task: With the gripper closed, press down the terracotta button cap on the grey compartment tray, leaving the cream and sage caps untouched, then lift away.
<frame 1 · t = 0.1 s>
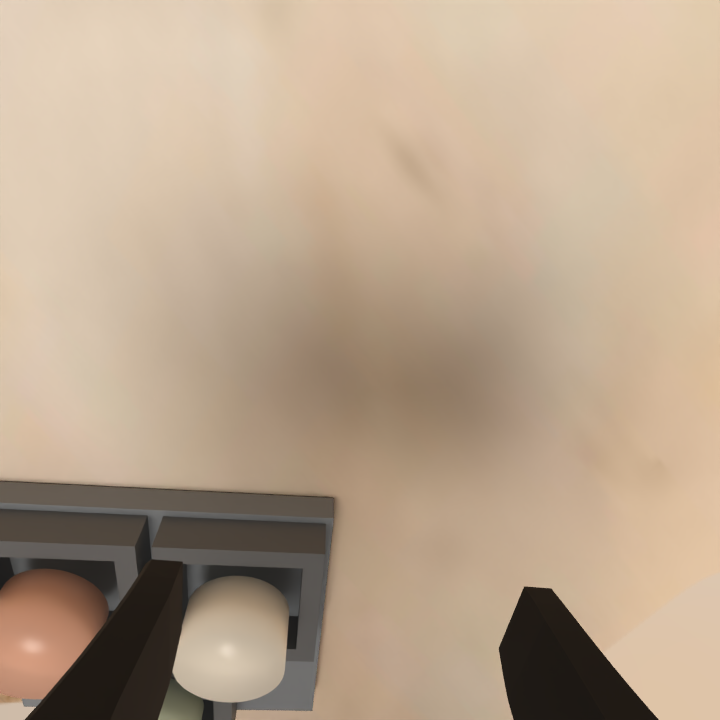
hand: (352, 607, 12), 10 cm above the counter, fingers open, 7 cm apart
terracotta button: (40, 633, 20), point 4 cm above the counter, slide at 0.0 cm
grey compartment tray: (171, 598, 26), on the counter
cream button: (234, 638, 21), point 4 cm above the counter, slide at 0.0 cm
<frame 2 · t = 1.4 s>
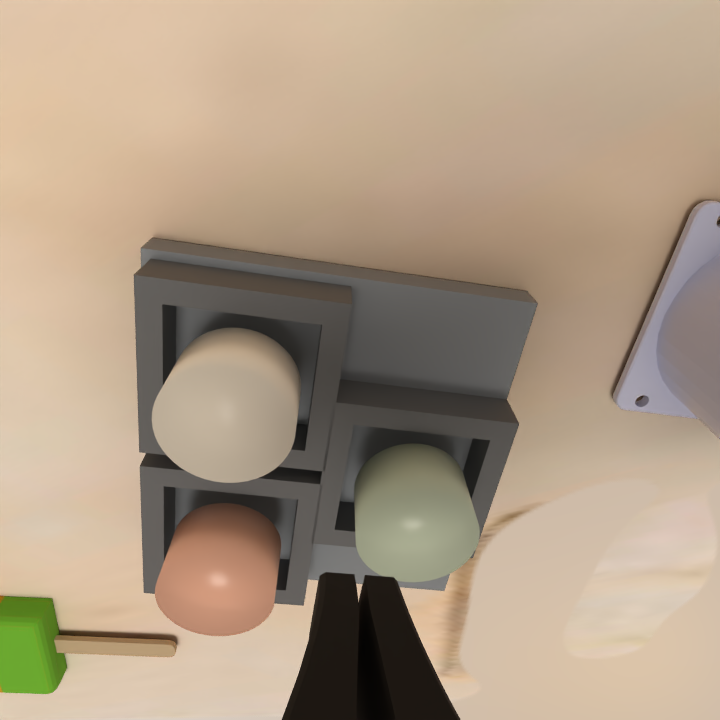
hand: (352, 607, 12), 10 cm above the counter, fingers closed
striped ice pop: (29, 623, 28), on the counter
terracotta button: (222, 569, 20), point 4 cm above the counter, slide at 0.0 cm
sage button: (413, 512, 19), point 4 cm above the counter, slide at 0.0 cm
grey compartment tray: (320, 432, 22), on the counter
cream button: (231, 404, 17), point 4 cm above the counter, slide at 0.0 cm
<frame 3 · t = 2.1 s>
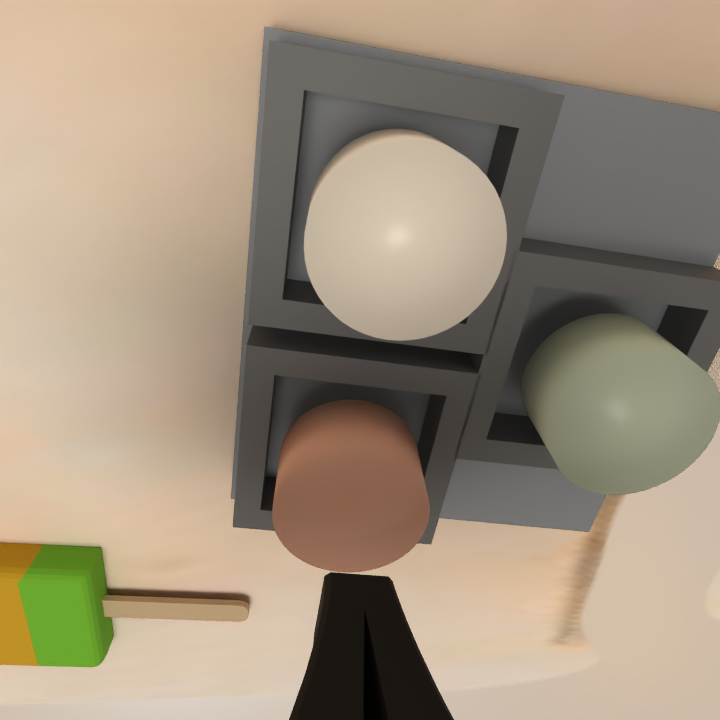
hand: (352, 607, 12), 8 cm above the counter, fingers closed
striped ice pop: (69, 582, 23), on the counter
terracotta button: (350, 485, 15), point 4 cm above the counter, slide at 0.0 cm
sage button: (612, 403, 14), point 4 cm above the counter, slide at 0.0 cm
grey compartment tray: (456, 322, 17), on the counter
cream button: (399, 233, 12), point 4 cm above the counter, slide at 0.0 cm
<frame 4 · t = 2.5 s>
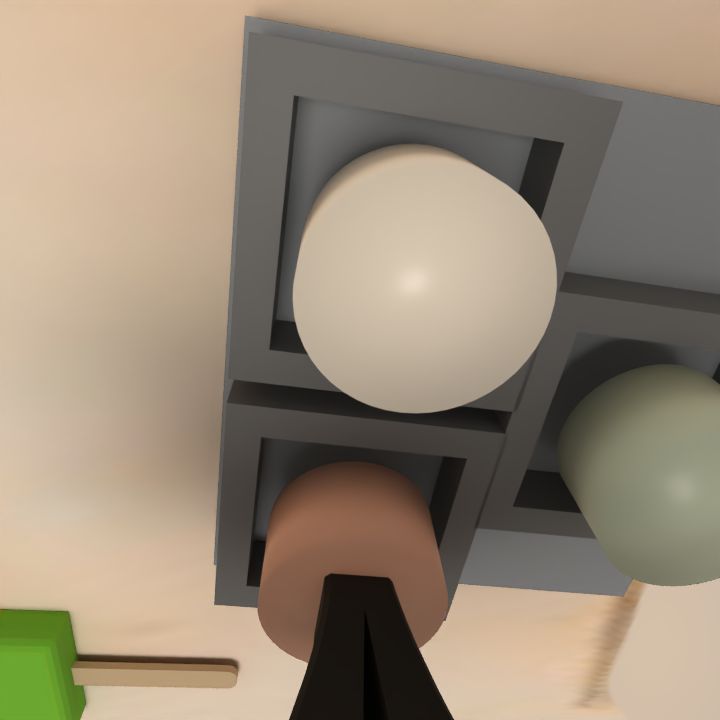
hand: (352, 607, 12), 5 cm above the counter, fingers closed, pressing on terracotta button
striped ice pop: (36, 644, 20), on the counter
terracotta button: (351, 563, 13), point 4 cm above the counter, slide at 0.1 cm, touching gripper
sage button: (670, 473, 12), point 4 cm above the counter, slide at 0.0 cm
grey compartment tray: (475, 364, 15), on the counter
cream button: (414, 276, 9), point 4 cm above the counter, slide at 0.0 cm
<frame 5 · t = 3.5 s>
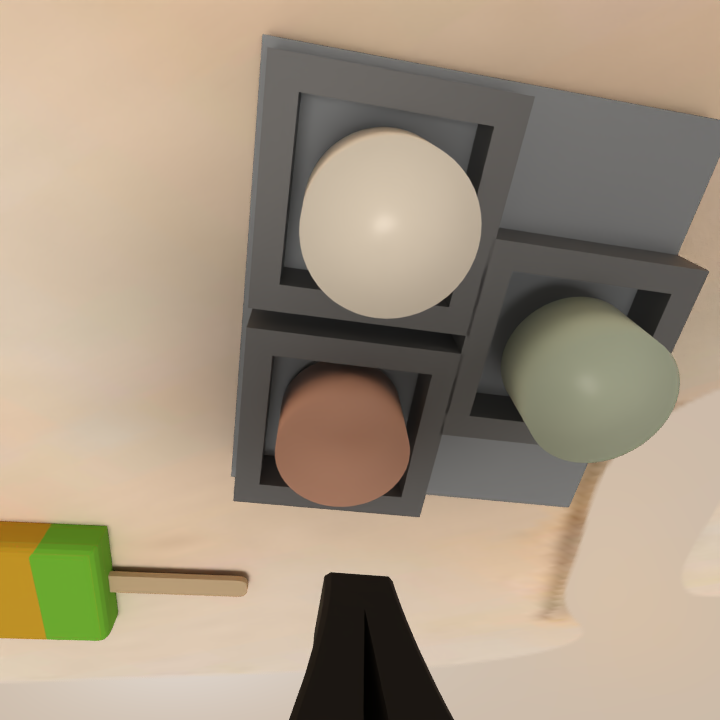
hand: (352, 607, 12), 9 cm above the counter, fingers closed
striped ice pop: (76, 560, 24), on the counter
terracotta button: (341, 431, 17), point 3 cm above the counter, slide at 1.3 cm
sage button: (583, 378, 15), point 4 cm above the counter, slide at 0.0 cm
grey compartment tray: (442, 308, 19), on the counter
cream button: (385, 221, 13), point 4 cm above the counter, slide at 0.0 cm
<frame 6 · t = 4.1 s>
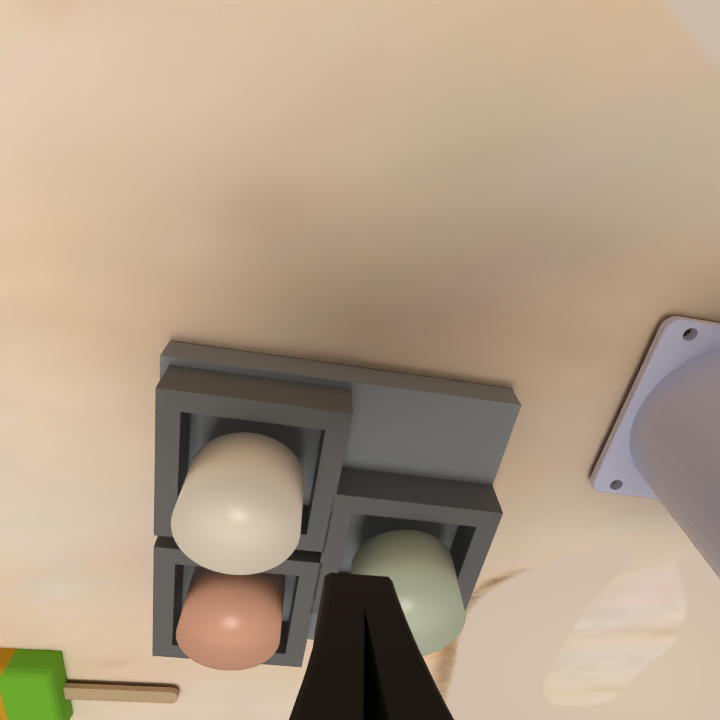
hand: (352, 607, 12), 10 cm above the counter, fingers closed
striped ice pop: (39, 669, 29), on the counter
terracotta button: (233, 611, 23), point 3 cm above the counter, slide at 1.3 cm
sage button: (405, 593, 21), point 4 cm above the counter, slide at 0.0 cm
grey compartment tray: (320, 507, 24), on the counter
cream button: (242, 503, 18), point 4 cm above the counter, slide at 0.0 cm
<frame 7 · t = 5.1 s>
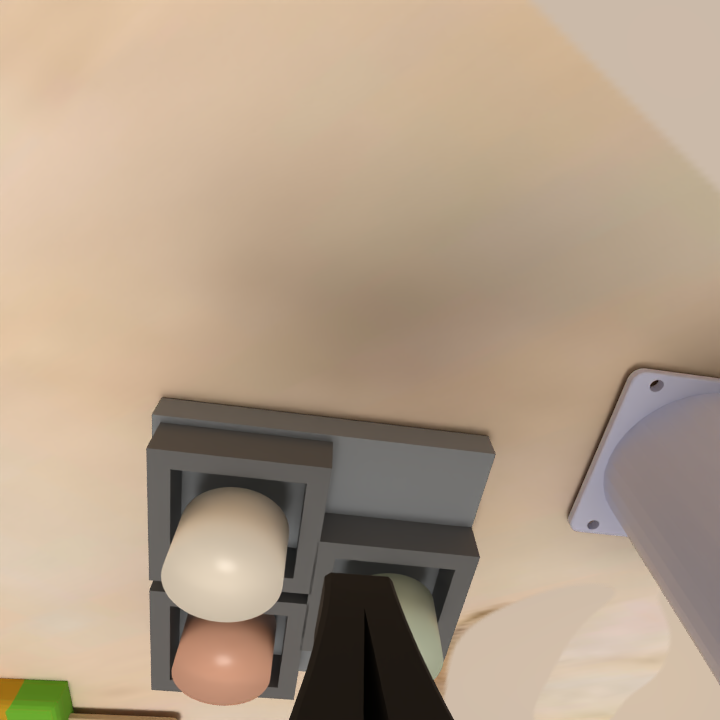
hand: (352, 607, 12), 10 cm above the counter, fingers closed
striped ice pop: (45, 699, 30), on the counter
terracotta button: (226, 648, 24), point 3 cm above the counter, slide at 1.3 cm
sage button: (387, 634, 22), point 4 cm above the counter, slide at 0.0 cm
grey compartment tray: (309, 547, 25), on the counter
cream button: (229, 554, 19), point 4 cm above the counter, slide at 0.0 cm
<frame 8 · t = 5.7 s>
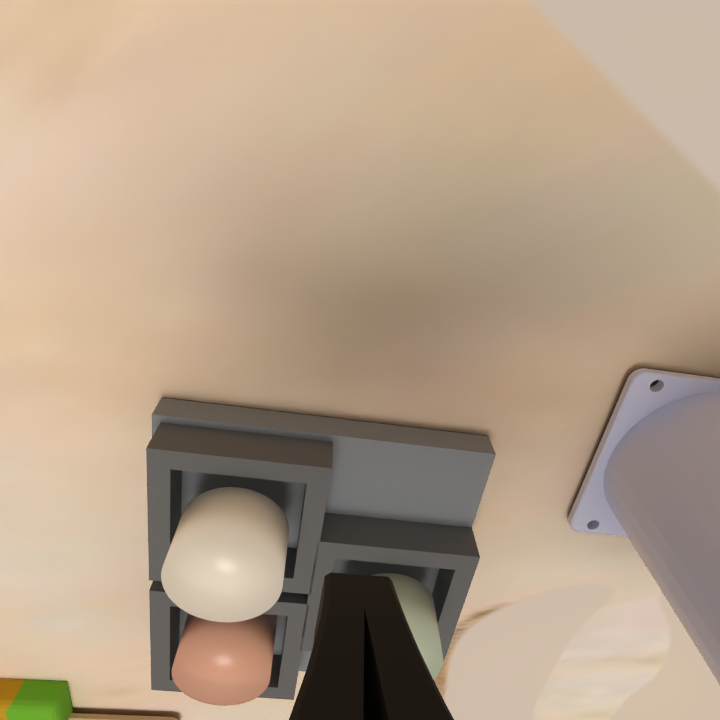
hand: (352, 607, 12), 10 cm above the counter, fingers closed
striped ice pop: (45, 699, 30), on the counter
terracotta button: (226, 648, 24), point 3 cm above the counter, slide at 1.3 cm
sage button: (387, 634, 22), point 4 cm above the counter, slide at 0.0 cm
grey compartment tray: (309, 547, 25), on the counter
cream button: (229, 554, 19), point 4 cm above the counter, slide at 0.0 cm
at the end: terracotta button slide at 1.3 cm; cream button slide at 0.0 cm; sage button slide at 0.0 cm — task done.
